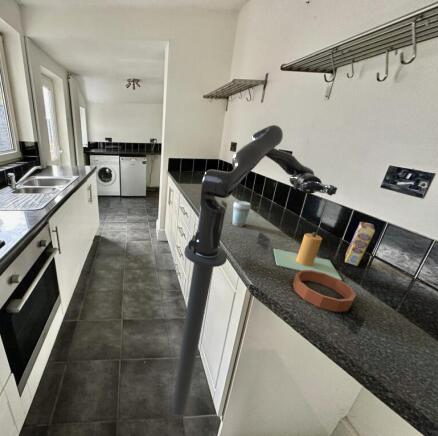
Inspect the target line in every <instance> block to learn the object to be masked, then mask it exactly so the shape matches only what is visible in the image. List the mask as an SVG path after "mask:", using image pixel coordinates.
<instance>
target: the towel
mask: <svg viewBox="0 0 438 436" xmlns="http://www.w3.org/2000/svg"><path fill="white" fill-rule="evenodd" d="M272 250H273V254H274V259H275V263H276V267H281V268H286V269H289V270H293V271H298V272H299V271H301V270H313V271H317V272H322V273H326V274H328V275H330V276H333V277H335V278H337V279H340V280H341V281H342V280H343V279H342V277H341V276H340V274H339V273H338V271H337V269H336V268H335V267H334V265H333V263H332V262H331V260H330V259H326V258H321V257H317V256H316V257H315V260H314V262H313V265H312V266H305V265H302V264H300V263H298V262H297V261H296V259H297V256H298V253H297V252H293V251H287V250H283V249H278V248H273V249H272Z"/></svg>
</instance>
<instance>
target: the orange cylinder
mask: <svg viewBox="0 0 438 436" xmlns="http://www.w3.org/2000/svg"><path fill="white" fill-rule="evenodd" d="M322 241H323V238H322V237H321V236H320V235H318V234H317V232H315V231H313V232H312V233H305V234H304V236H303V237H302V241H301V244H300V247H299V251H298V253H297V254H298V256H297V259H296V261H297V262H298V263H300V264H302V265H305V266H312V265H313V262H314V260H315V257H316V258H317V254H318V251H319V249H320V246H321V243H322Z"/></svg>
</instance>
